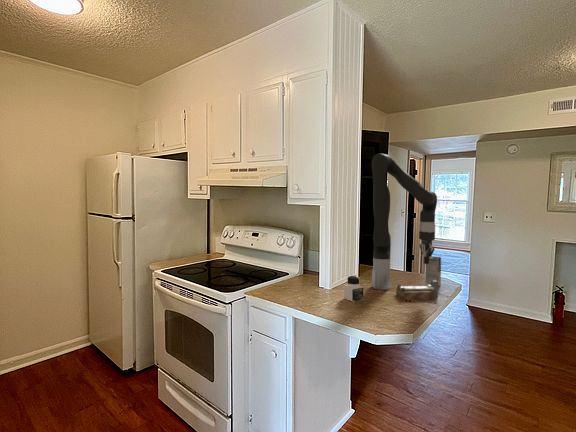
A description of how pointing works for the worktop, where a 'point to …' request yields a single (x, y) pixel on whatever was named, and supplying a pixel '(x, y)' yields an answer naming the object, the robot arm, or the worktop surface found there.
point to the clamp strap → (417, 287)
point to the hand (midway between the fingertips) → (426, 263)
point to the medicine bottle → (353, 289)
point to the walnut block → (415, 294)
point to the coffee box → (433, 270)
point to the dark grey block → (435, 286)
